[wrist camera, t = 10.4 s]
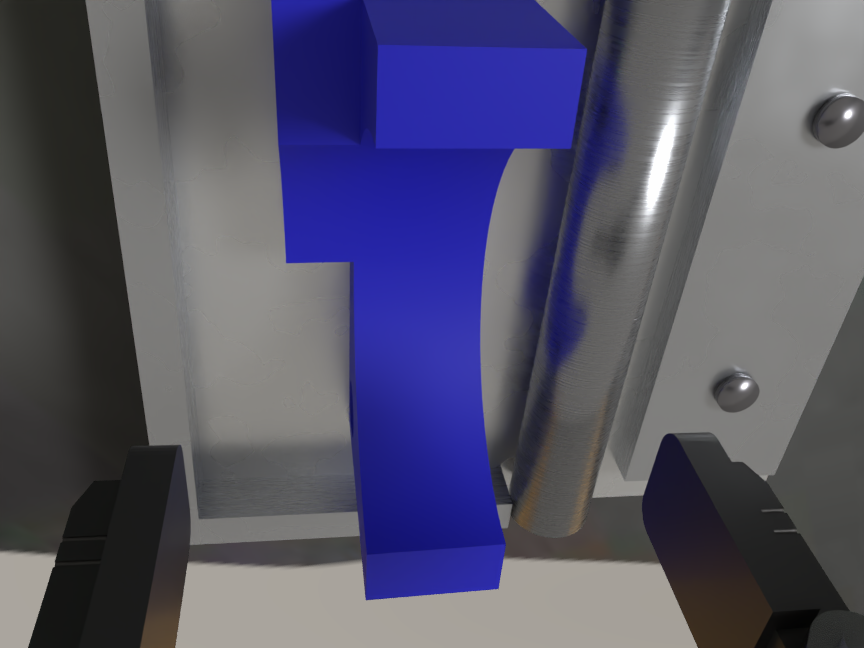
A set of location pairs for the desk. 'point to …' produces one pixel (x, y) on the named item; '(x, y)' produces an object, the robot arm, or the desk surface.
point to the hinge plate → (499, 257)
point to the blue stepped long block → (415, 243)
